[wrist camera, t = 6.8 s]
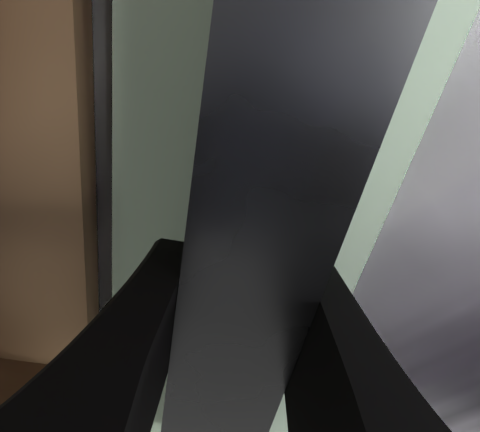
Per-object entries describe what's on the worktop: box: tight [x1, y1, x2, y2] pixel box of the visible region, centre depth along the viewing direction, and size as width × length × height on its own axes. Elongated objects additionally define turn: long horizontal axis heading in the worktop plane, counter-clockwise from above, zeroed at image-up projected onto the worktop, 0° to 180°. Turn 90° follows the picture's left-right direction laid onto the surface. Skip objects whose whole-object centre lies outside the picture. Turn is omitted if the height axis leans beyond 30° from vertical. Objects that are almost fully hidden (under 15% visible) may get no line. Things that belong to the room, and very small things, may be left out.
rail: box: [161, 0, 438, 432], centre depth 9 cm, size 2×18×2 cm, turn 170°
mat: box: [112, 0, 480, 432], centre depth 11 cm, size 6×20×1 cm, turn 170°
